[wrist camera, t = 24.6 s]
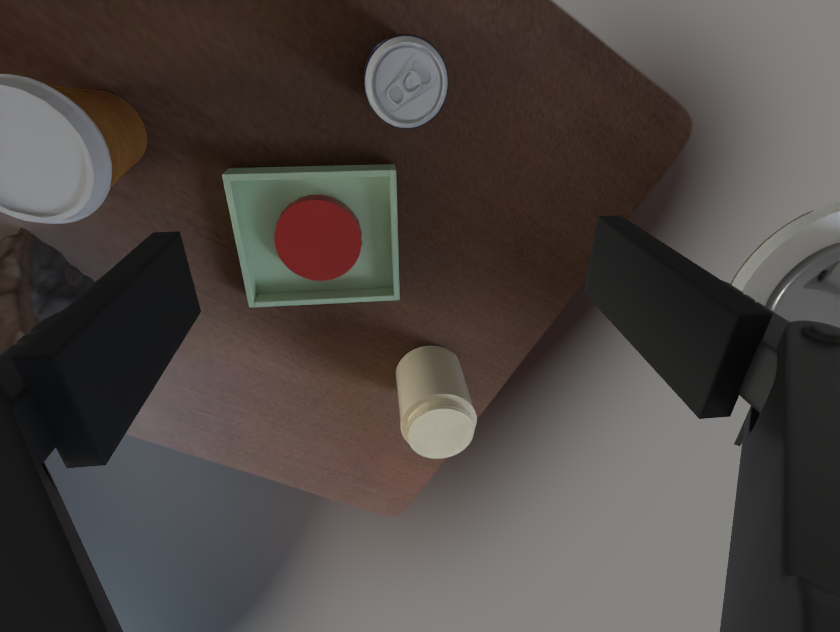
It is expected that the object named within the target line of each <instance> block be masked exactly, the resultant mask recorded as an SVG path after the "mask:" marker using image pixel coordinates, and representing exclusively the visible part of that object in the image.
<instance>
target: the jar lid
mask: <svg viewBox="0 0 840 632" xmlns="http://www.w3.org/2000/svg"><path fill="white" fill-rule="evenodd" d="M274 243H275V248H276V251H277V253H278V255H279V257H280V259H281V260H282V262H283V263H284V264H285V265H286V267H287V268H289V269H290V270H291V271H292V272H294V273H295V274H297V275H299V276H301V277H303V278H306V279H309V280H315V281H327V280H332V279H335V278H338V277H340V276H342V275H344V274H345V273H347V272H348V271H349V270H350V269H351V268H352V267H353V266H354V264H355V263H356V262H357V260H358V258H359V256H360V251H361V246H362V230H361V228H360V225H359V220H357V218H356V216H355V215H354V213H353V211H351V210H350V209H349V208H348V207H347V206H346V205H345V203H342V202H340V201H339V200H337V199H335V198H334V197H333V198H332V197H329V196H325V195H323V194H322V195H311V194H310V195H309V196H304V197H301V198H300V197H299V199H297V200H295V201H293V202H292V203H289V205H288V206H287V207H286V209H285V210H284V211H282V213H281V216H280V218H279V220H278V221H277V223H276V228H275V233H274Z"/></svg>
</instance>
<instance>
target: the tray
mask: <svg viewBox="0 0 840 632" xmlns="http://www.w3.org/2000/svg"><path fill="white" fill-rule="evenodd" d="M222 178H223V183H224V188H225V193H226V198H227V203H228V208H229V212H230V217H231V222H232V227H233V232H234V237H235V242H236V246H237V251H238V256H239V261H240V266H241V271H242V276H243V280H244V285H245V290H246V295H247V300H248V305H249V307H250V308H251V307H270V306H290V305H310V304H330V303H350V302H370V301H389V300H400V295H399V257H398V220H397V182H396V168H395V164H380V165H339V166H298V167H257V168H228V170H226V171H225V172H224V173H223V174H222ZM310 194H311V195H322V194H323V195H325V196H329V197H332V198H333V197H334V198H335V199H337V200H339V201H340V202H342V203H345V205H346V206H347V207H348V208H349V209H350V210H351V211H353V213H354V215H355V216H356V218H357V220H359V225H360V228H361V230H362V246H361V251H360V256H359V258H358V260H357V262H356V263H355V264H354V266H353V267H352V268H351V269H350V270H349V271H348V272H347V273H345V274H344V275H342V276H340V277H338V278H335V279H332V280H327V281H315V280H309V279H306V278H303V277H301V276H299V275H297V274H295V273H294V272H292V271H291V270H290V269H289V268H287V267H286V265H285V264H284V263H283V262H282V260H281V259H280V257H279V255H278V253H277V251H276V248H275V243H274V233H275V228H276V223H277V221H278V220H279V218H280V216H281V213H282V211H284V210H285V209H286V207H287V206H288V205H289V203H292V202H293V201H295V200H297V199H299V197H300V198H301V197H304V196H309V195H310Z"/></svg>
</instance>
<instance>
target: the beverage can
mask: <svg viewBox="0 0 840 632" xmlns="http://www.w3.org/2000/svg"><path fill="white" fill-rule="evenodd" d="M364 89H365V94H366V98H367V100H368V103H369V105H370V107H371V108H372V110H373V111H374V113H375V114H376V115H377V116H378V117H379V118H380V119H381V120H382V121H384V122H385V123H387V124H389V125H391V126H393V127H396V128H401V129H412V128H416V127H420V126H422V125H424V124H426V123H428V122H429V121H430V120H432V119H433V118H434V117H435V116H436V115H437V114H438V112H439V111H440V109H441V108H442V106H443V104H444V102H445V99H446V96H447V91H448V73H447V68H446V65H445V62H444V60H443V58H442V56H441V55H440V53H439V52H438V50H437V49H436V48H435V47H434V46H433V45H432V44H431V43H429V42H428V41H426V40H425V39H423V38H421V37H418V36H414V35H397V36H394V37H391V38H389V39H386V40H384V41H382V42H380V43H379V44H378V45H376V46H375V47H374V48H373V50H372V51H371V52H370V54H369V56H368V58H367V60H366V63H365V67H364Z"/></svg>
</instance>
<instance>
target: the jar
mask: <svg viewBox="0 0 840 632" xmlns="http://www.w3.org/2000/svg"><path fill="white" fill-rule="evenodd" d="M396 385H397V395H398V405H399V415H400V425H401V432H402V435H403V437H404V438H405V440H406V441H407V442H408V443H409V444H410V446H411V448H412V449H413V450H414V451H415V452H416V453H418V454H420V455H421V456H424V457H427V458H434V459H441V458H447V457H450V456H453V455H455V454H457V453H459V452H461V451H462V450H464V449H465V448H466V447H467V445H469V443H470V442H471V440H472V438H473V433H474V429H475V427H476V422H477V417H476V412H475V409H474V406H473V403H472V399H471V396H470V393H469V390H468V386H467V383H466V380H465V377H464V374H463V370H462V367H461V364H460V361H459V359H458V358H457V356H456V355H455V354H454V353H453V352H451V351H450V350H448V349H446V348H443V347H440V346H433V345H430V346H422V347H419V348H416V349H414V350H412V351H410V352H408V353H407V354H406V355H405V356H404V357H403V358H402V359H401V360H400V362H399V364H398V366H397V368H396Z"/></svg>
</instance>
